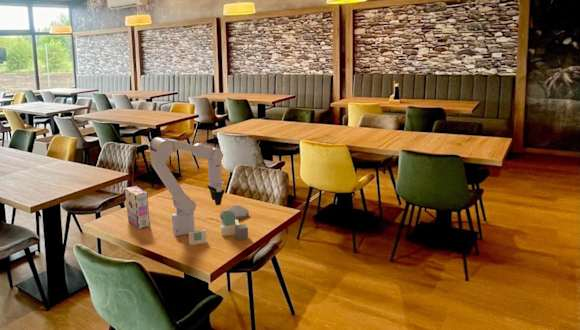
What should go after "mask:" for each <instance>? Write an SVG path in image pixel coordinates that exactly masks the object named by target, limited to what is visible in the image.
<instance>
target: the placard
mask: <svg viewBox="0 0 580 330" xmlns="http://www.w3.org/2000/svg"><path fill="white" fill-rule="evenodd" d="M207 243H208V241H207V229H203V230H196V231H195V232H189V234H188V244H189V246H194V245H201V244H207Z"/></svg>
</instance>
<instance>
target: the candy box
mask: <svg viewBox="0 0 580 330" xmlns="http://www.w3.org/2000/svg"><path fill="white" fill-rule="evenodd" d="M124 194H125V202H126V211H127V219H128V222H129V223H130V224H131V225H132V226H134V227H135V228H136V229H138V230H142V229H145V228H150V227H151V221H150V212H149V211H150V210H149V209H150V208H149V199H148V197H149V196H148V192H147V191H145V190H144V189H142V188H141V187H139V186H137V185H135V186H129V187H124Z"/></svg>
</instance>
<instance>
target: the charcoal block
mask: <svg viewBox="0 0 580 330" xmlns="http://www.w3.org/2000/svg"><path fill="white" fill-rule="evenodd" d="M234 236H235V238H236V240H238V241H243V240H248V239H249V227H248V226H247V225H246V224H245V223H243V224H239V225H235V235H234Z"/></svg>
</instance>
